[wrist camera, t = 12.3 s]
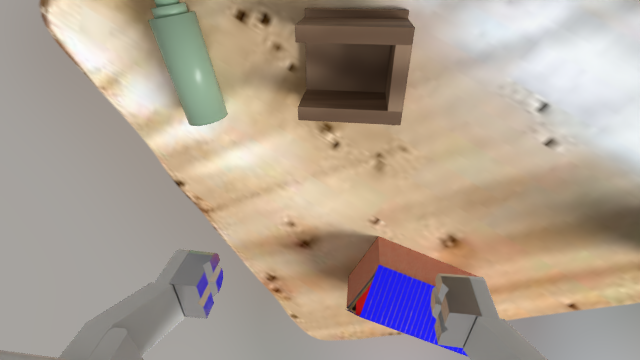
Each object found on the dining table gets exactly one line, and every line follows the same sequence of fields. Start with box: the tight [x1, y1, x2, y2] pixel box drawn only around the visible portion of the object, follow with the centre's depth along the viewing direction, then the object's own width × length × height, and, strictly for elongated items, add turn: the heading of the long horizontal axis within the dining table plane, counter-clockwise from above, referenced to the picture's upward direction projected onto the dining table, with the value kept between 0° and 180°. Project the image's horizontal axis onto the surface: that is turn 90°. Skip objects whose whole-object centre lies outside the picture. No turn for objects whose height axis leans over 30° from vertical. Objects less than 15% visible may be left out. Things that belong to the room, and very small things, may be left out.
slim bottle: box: [148, 0, 228, 126], centre depth 37 cm, size 5×5×20 cm
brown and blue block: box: [346, 236, 478, 356], centre depth 53 cm, size 12×20×12 cm, turn 67°
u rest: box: [295, 8, 415, 125], centre depth 36 cm, size 11×11×7 cm
